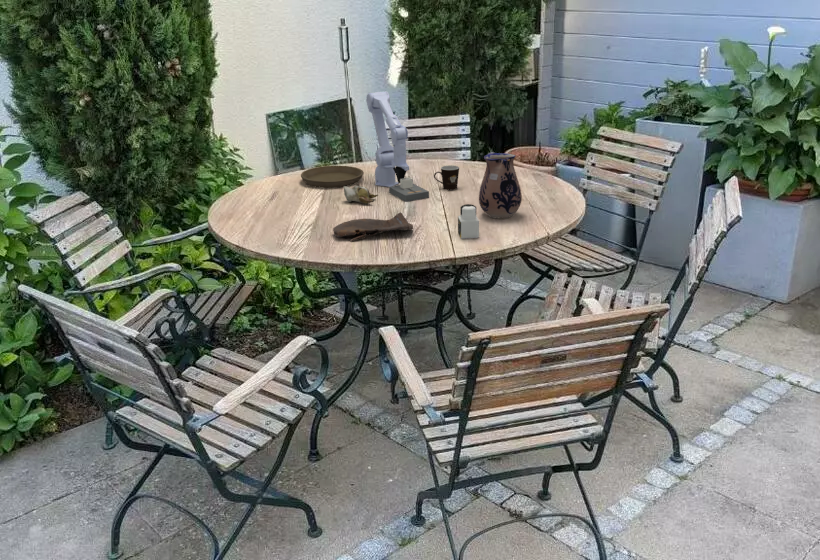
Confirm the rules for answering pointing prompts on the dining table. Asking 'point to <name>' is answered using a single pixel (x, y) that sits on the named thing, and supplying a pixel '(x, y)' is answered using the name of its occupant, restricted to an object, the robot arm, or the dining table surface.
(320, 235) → the dining table surface
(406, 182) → the fader
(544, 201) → the dining table surface
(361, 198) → the ceramic sculpture
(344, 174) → the plant saucer
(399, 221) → the glove
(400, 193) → the console
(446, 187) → the coffee mug
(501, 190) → the ceramic pitcher
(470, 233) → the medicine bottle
